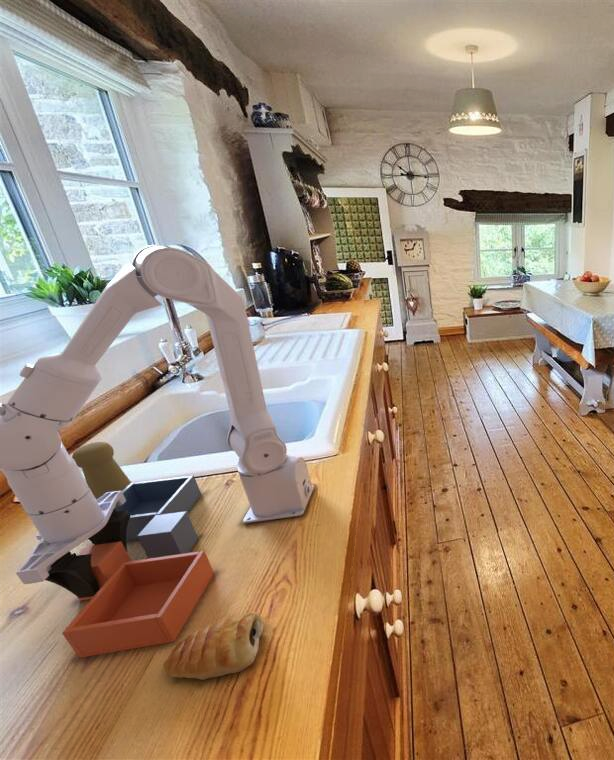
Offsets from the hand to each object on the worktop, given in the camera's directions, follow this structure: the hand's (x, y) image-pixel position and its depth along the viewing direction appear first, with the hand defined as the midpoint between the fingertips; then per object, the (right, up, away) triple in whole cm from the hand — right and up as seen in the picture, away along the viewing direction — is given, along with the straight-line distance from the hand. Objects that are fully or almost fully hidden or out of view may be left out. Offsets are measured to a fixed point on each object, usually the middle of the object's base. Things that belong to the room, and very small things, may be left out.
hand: (104, 577), depth 57 cm
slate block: (+5, +1, +6) cm, 8 cm away
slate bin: (-4, +4, +13) cm, 14 cm away
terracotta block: (0, -1, +1) cm, 1 cm away
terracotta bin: (+10, -3, -4) cm, 11 cm away
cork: (-16, +6, +19) cm, 26 cm away
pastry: (+23, -5, -9) cm, 25 cm away
